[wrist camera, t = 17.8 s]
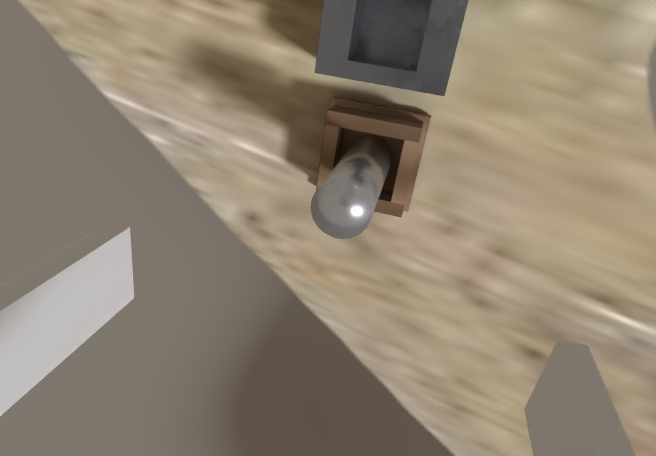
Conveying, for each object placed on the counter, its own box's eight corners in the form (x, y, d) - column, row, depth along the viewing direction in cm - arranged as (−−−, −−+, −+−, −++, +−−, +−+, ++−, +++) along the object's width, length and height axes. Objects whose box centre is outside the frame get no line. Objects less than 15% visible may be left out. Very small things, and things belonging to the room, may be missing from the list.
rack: (332, 97, 41) (322, 103, 37) (430, 115, 40) (430, 123, 36) (319, 188, 45) (309, 202, 41) (408, 208, 43) (405, 223, 40)
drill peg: (353, 131, 41) (315, 174, 28) (396, 139, 40) (377, 187, 28) (346, 172, 42) (307, 230, 30) (387, 181, 42) (365, 244, 29)
